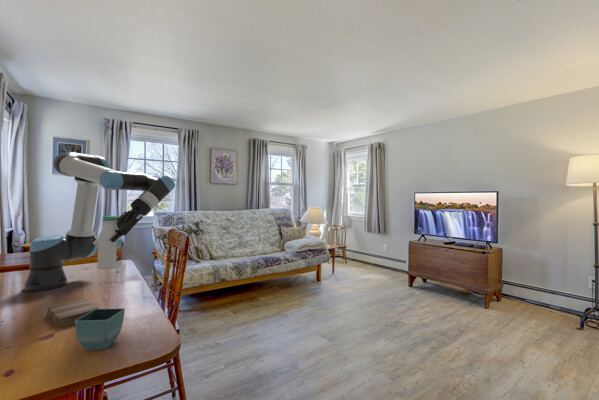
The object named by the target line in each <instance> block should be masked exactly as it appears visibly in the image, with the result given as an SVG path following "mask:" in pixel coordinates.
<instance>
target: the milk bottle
mask: <svg viewBox="0 0 599 400" xmlns="http://www.w3.org/2000/svg"><path fill="white" fill-rule="evenodd" d="M117 218H118V216H116V215H107V216H103V218H102V221H103V225H102V226H103V227H102V229H101V231H100V232H99V235H98V237H97V238H98V249H97V269H98V270H113V269H118V268H121V267H122V261H123V258H122V256H123V255H122V252H123V251H122V250H123V249H122V248H123V247H122V245H123V243H122V240H123V239H122V236H120V238H119V239H118V240H117V241H116V242H115V243H114V244H113V245H112V246H111V247H110V248H109V249H108V250H105V249H104V248H103V247H101V246H100V245H101V244H102V243H103V242H104V241H105V240H106V239H108V238H109V237H110V236H111V235H112V234H113V233H114V232H115V230H118V227H117ZM115 233H116V232H115Z"/></svg>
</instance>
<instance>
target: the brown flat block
mask: <svg viewBox="0 0 599 400" xmlns="http://www.w3.org/2000/svg"><path fill="white" fill-rule="evenodd" d="M94 309H100V308H99V307H98V306H96V305H95V304H93V303H92V302H91V301H89V300H88V299H86V298H83V299H82V298H81V299H78V300H72V301H68V302H64V303H58V304H55V305H49V306H47V310H46V311H47V313H46V315H47V316H48V317H49V319H50V320H51V321H52V322H53V323H54V324H55V326H56V327H58V328H59V329H60V328H64V327H68V326H72V325H75V320H77V319H78V318H80V317H82V316H84V315H85V314H87V313H89V312H91V311H92V310H94Z"/></svg>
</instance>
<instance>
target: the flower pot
mask: <svg viewBox="0 0 599 400" xmlns="http://www.w3.org/2000/svg"><path fill="white" fill-rule="evenodd" d="M125 311H126V309H125V308H124V307H122V308H119V307H118V308H99V309H94V310H92V311H91V312H89V313H87V314H85V315H84V316H82V317H80V318H78V319H77V320H75V324H74V326H75V332H76V334H75V335H76V339H77V341H78V343H79V344H80V346H81V347H82V348H83V349H84V350H85V351H98V350H99V351H100V350H101V351H102V350H106V349H107V348H109V346H111V345H112V344H113V343H114V342H115V341H116V339H117V338H118V336H119V335H120V333H121V330H122V328H123V324H124V317H125Z"/></svg>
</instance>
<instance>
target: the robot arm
mask: <svg viewBox="0 0 599 400" xmlns="http://www.w3.org/2000/svg"><path fill="white" fill-rule="evenodd" d="M109 163H110V162H108V160H107V159H106V158H105V157H103V156H100V155H95V154H87V153H81V152H80V153H79V152H75V151H67V152H66V151H65V152H62V153H59V154H58V155H57V156H55V157H54V159H53V163H52V164H53V168H54V169H55V171H56V172H57V173H58V174H60V175H63V176H66V177H70V178H71V177H72V178H73V177H74V181H75V182H76V183H77V184H76V194H75V200H74V205H73V213H72V220H71V228H70V229H69V230H68V231H66V233H65V237H64V236H63V235H60V234H58V235H57V234H56V235H55V234H54V235H48V236H47V235H45V236H41V237H38V238H37V237H36V238H34V239H33V240H32V241H31V242H30V246H29V273H28V275H27V278H26V280H25V282H24V285H23V290H24V291H27V292H39V291H48V290H53V289H57V288H61V287H64V286H66V285H67V284H68V277H67V275H66V272H65V270H64V268H63V266H64V264H63V263H64V262H67V261H74V260H79V259H85V258H90V257H93V255H95V254H96V252H98V238H99V237H97V236H96V233H95V232H94V231H93V225H94V218H95V210H96V205H97V204H96V203H97V198H98V197H97V196H98V193H99V186H101V187H102V188H103V189H106V190H112V191H114V190H117V191H135V192H136V191H137V192H140V191H142V193H141V194H140V195H139V196H137V198H136V199H135V200H133V201H132V202H131V203H130V207H131V209H130V210H127V211H124V212H123V213H122V214H121V215H120V216H119V217H117V227H118V230H115V232H116V233H115V232H114V233H113V234H112V235H111V236H110V237H109V238H108V239H106V240H105V241H104V242H103V243H102V244H101V245H100V246H101V247H103V248H104V249H105V250H108V249H109V248H110V247H111V246H112V245H113V244H114V243H115V242H116V241H117V240H118V239H119V238H120V236H121V237H124V236H127V234H128V233H129V232H130V231H131V230H132V229H133V228H134V227H135V226H136V225H137V224H138V223H139V222H140V221H141V220H142V219H143V217H146V216H148V214H150V212H151V211H152V210H153V209H155V207H158V204H159V203H160V202H161V201H162V200H164V199H165V198H166V197H167V196H168V195H169V194H170V193H171V192H172V191H173V190H174V189H175V187H176V183H175V181H174V180H173V179H172V178H171V177H170V176H169V175H166V174H162V175H161V176H159V177H154V176H152V175H149V174H147V173H143V172H139V171H137V172H134V173H133V172H124V171H118V170H116V169H112V168H111V166H110V164H109Z"/></svg>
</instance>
